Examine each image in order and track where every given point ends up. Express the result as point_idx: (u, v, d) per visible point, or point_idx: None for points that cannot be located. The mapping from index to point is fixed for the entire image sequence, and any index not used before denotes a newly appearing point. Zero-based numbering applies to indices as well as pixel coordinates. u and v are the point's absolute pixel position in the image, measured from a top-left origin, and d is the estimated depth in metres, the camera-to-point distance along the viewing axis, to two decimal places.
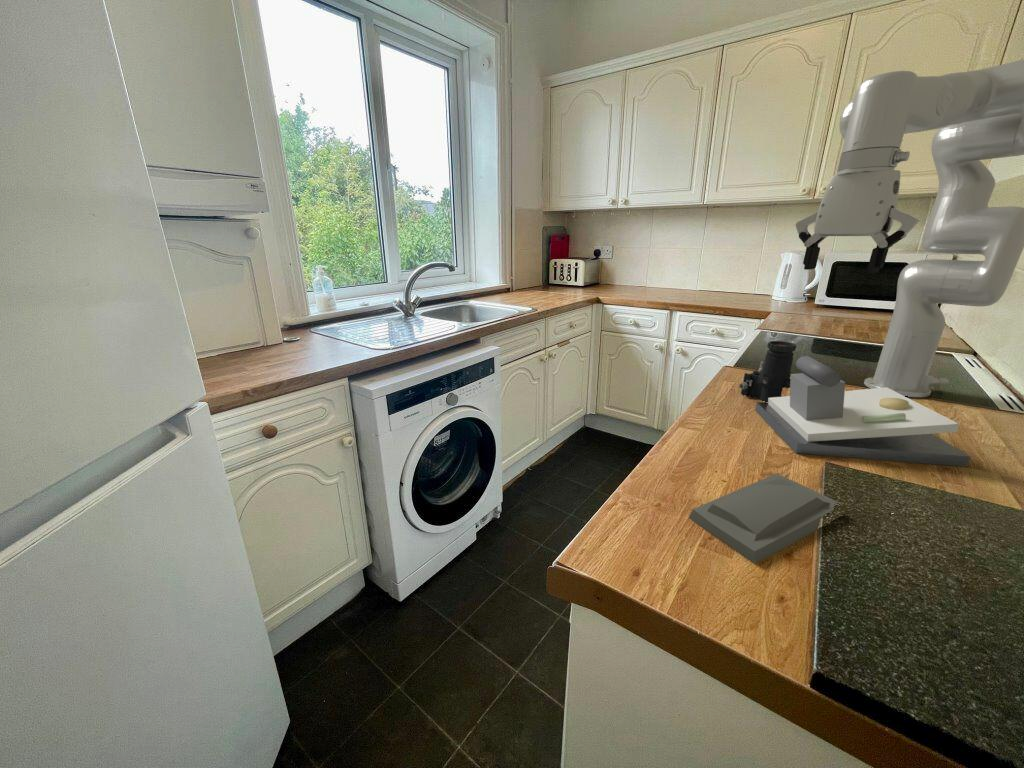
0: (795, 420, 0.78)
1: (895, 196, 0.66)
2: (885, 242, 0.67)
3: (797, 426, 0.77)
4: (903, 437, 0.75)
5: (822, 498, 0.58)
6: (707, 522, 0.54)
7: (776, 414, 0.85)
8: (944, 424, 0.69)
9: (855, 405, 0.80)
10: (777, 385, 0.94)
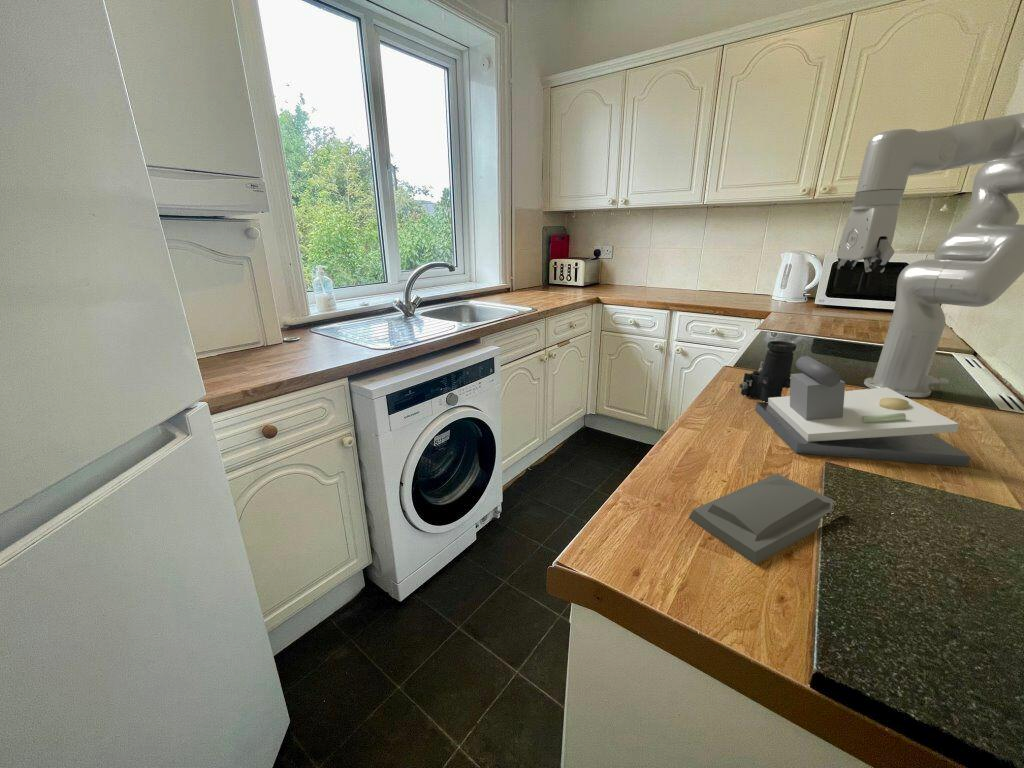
0: (795, 420, 0.78)
1: None
2: None
3: (797, 426, 0.77)
4: (903, 437, 0.75)
5: (822, 498, 0.58)
6: (708, 523, 0.54)
7: (776, 414, 0.85)
8: (944, 424, 0.69)
9: (855, 405, 0.80)
10: (777, 385, 0.94)
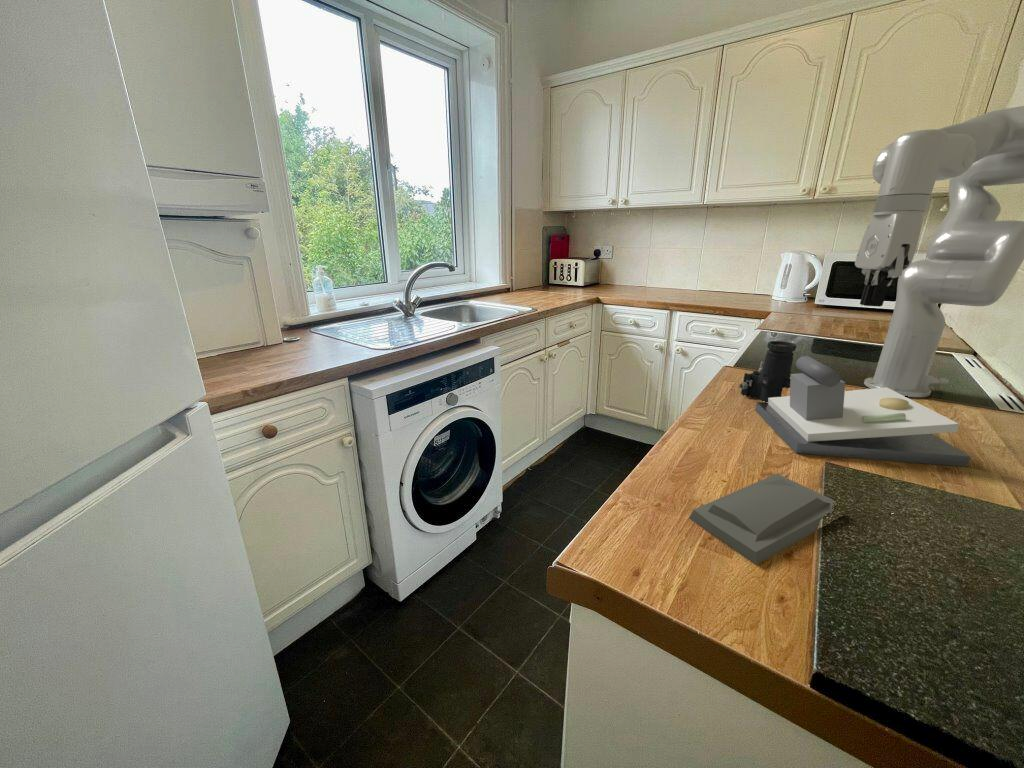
0: (795, 420, 0.78)
1: None
2: None
3: (797, 426, 0.77)
4: (903, 437, 0.75)
5: (822, 498, 0.58)
6: (708, 523, 0.54)
7: (776, 414, 0.85)
8: (944, 424, 0.69)
9: (855, 405, 0.80)
10: (777, 385, 0.94)
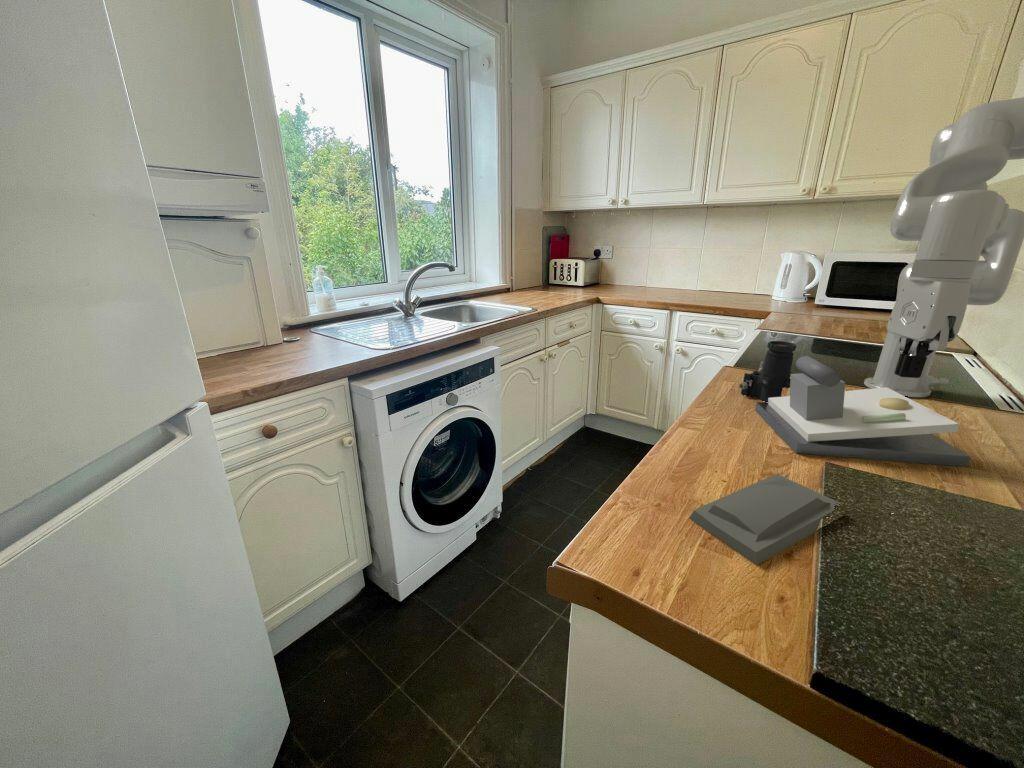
0: (795, 420, 0.78)
1: None
2: None
3: (797, 426, 0.77)
4: (903, 437, 0.75)
5: (823, 498, 0.58)
6: (708, 523, 0.54)
7: (776, 414, 0.85)
8: (944, 424, 0.69)
9: (855, 405, 0.80)
10: (777, 385, 0.94)
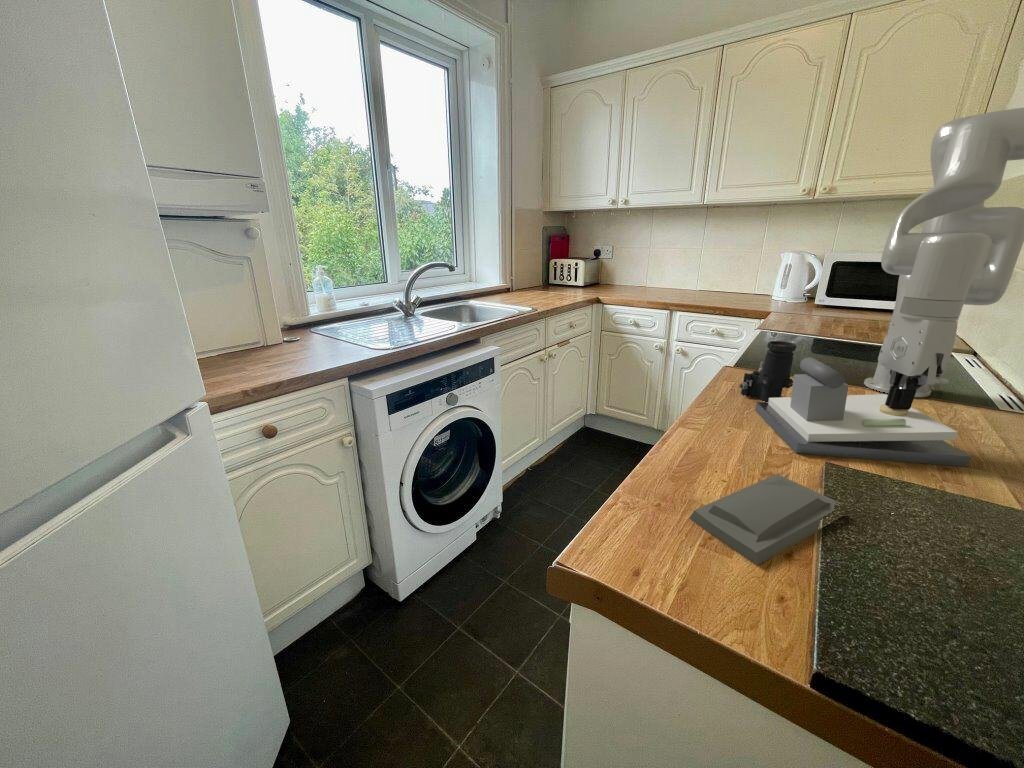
0: (796, 420, 0.78)
1: None
2: None
3: (797, 426, 0.77)
4: None
5: (823, 498, 0.58)
6: (709, 523, 0.54)
7: (776, 414, 0.85)
8: (944, 431, 0.69)
9: (855, 409, 0.80)
10: (777, 385, 0.94)
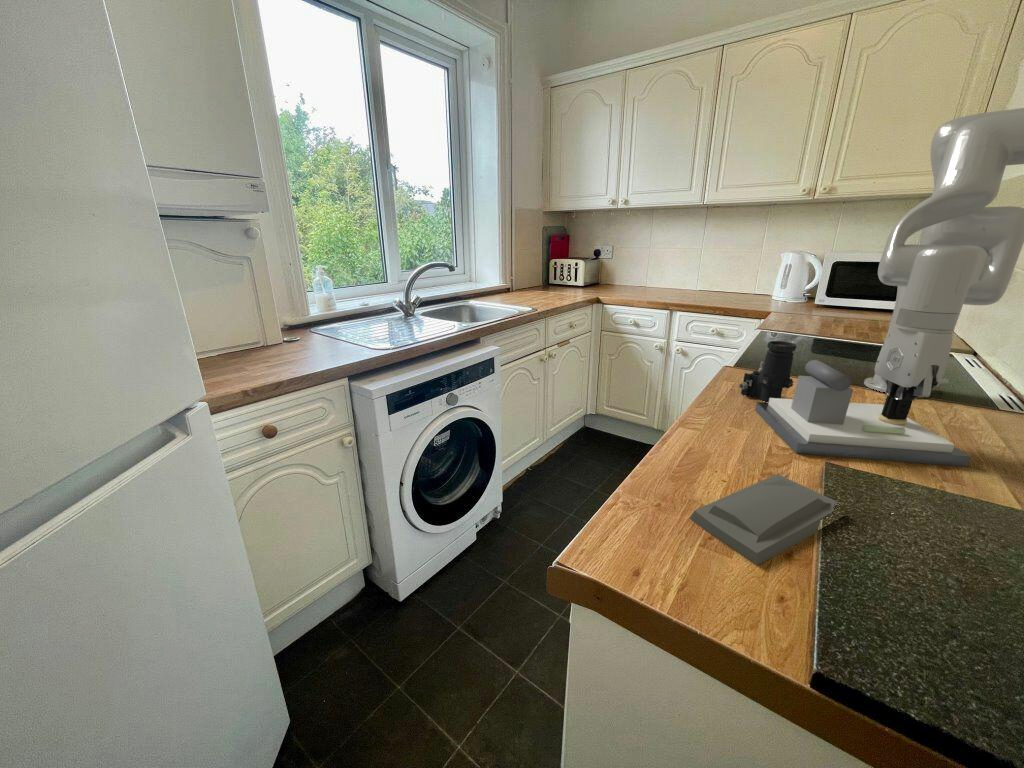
0: (796, 420, 0.78)
1: None
2: None
3: (798, 426, 0.77)
4: None
5: (823, 499, 0.58)
6: (709, 524, 0.54)
7: (776, 414, 0.85)
8: (941, 443, 0.70)
9: (854, 416, 0.80)
10: (777, 385, 0.94)
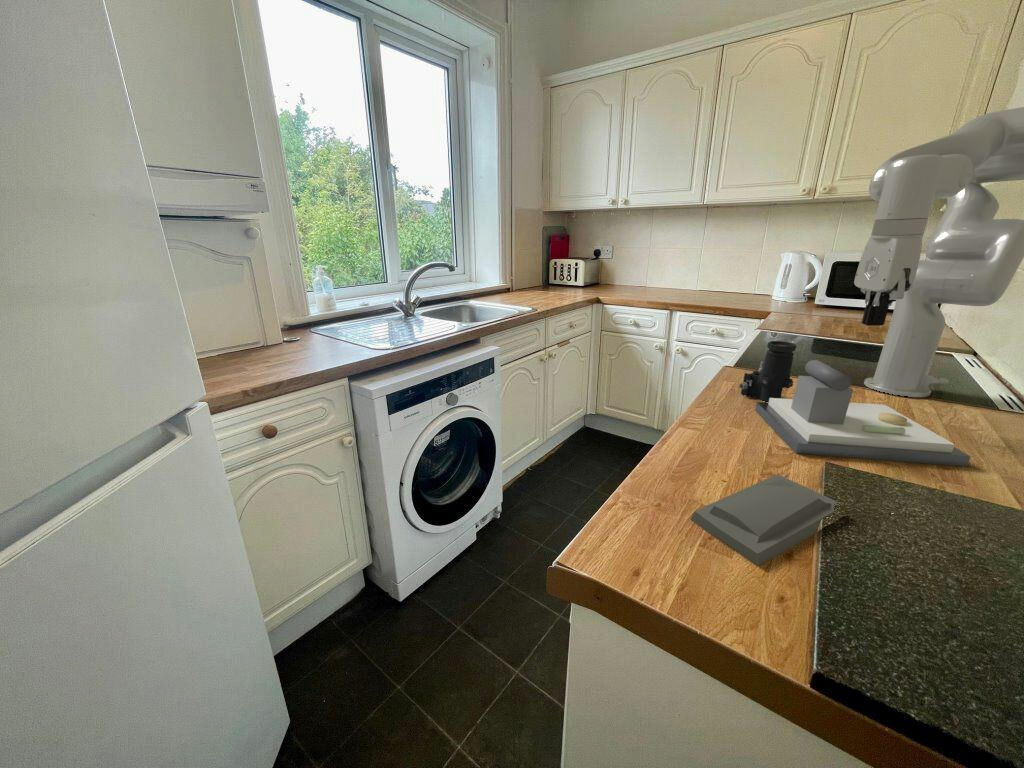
0: (796, 420, 0.78)
1: None
2: None
3: (798, 426, 0.77)
4: None
5: (823, 499, 0.58)
6: (709, 524, 0.53)
7: (776, 414, 0.85)
8: (941, 443, 0.70)
9: (854, 416, 0.80)
10: (777, 385, 0.94)
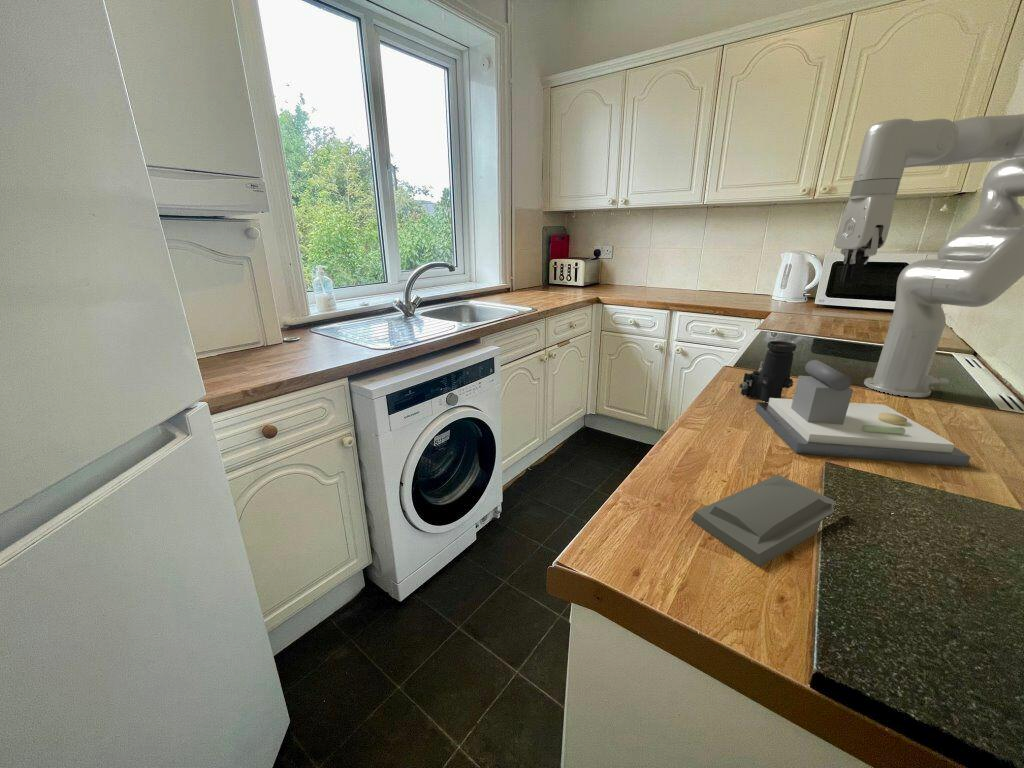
0: (796, 420, 0.78)
1: None
2: None
3: (798, 426, 0.77)
4: None
5: (824, 499, 0.58)
6: (710, 525, 0.53)
7: (776, 414, 0.85)
8: (941, 443, 0.70)
9: (854, 416, 0.80)
10: (777, 385, 0.94)
